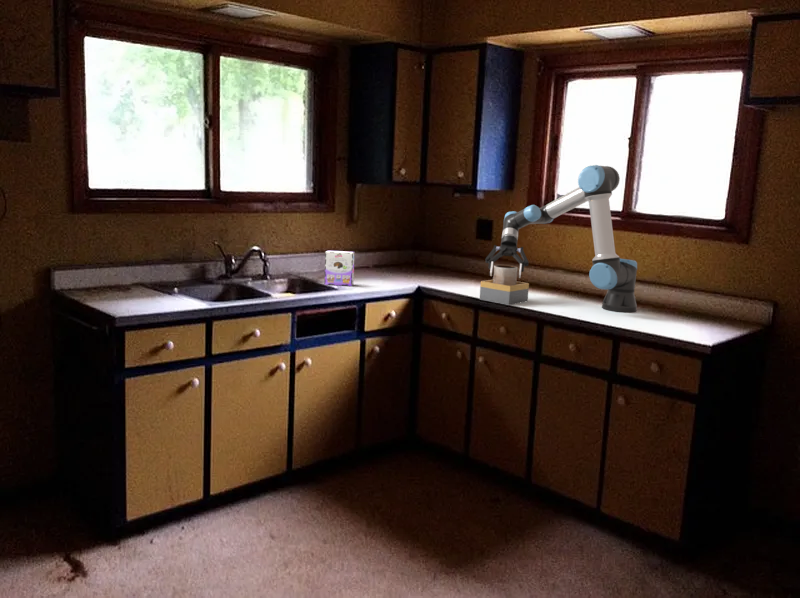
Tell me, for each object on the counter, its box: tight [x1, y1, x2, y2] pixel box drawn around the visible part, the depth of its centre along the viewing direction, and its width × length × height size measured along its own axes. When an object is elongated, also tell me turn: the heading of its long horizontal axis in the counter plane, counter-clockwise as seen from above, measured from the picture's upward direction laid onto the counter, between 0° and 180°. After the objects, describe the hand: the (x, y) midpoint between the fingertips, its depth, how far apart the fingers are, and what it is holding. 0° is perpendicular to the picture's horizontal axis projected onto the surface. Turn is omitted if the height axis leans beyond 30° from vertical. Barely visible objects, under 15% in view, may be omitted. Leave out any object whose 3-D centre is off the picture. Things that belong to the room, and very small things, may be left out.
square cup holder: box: [479, 279, 530, 306], centre depth 345 cm, size 16×16×8 cm
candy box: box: [323, 250, 355, 287], centre depth 365 cm, size 14×6×16 cm, turn 84°
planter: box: [492, 264, 518, 286], centre depth 344 cm, size 11×11×10 cm
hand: (505, 275), depth 341 cm, fingers open, 12 cm apart
